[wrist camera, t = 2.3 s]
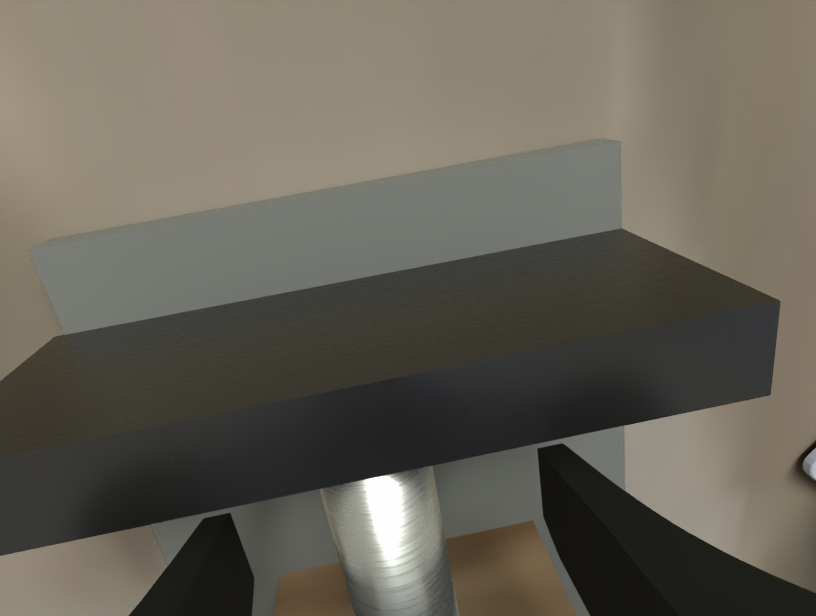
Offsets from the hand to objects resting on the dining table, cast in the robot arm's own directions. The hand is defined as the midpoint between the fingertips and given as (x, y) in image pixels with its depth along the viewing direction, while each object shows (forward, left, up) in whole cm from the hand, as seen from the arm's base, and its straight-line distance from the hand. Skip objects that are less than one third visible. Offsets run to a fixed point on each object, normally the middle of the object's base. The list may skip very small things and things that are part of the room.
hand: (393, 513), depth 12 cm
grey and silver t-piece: (-4, +4, -1) cm, 5 cm away
